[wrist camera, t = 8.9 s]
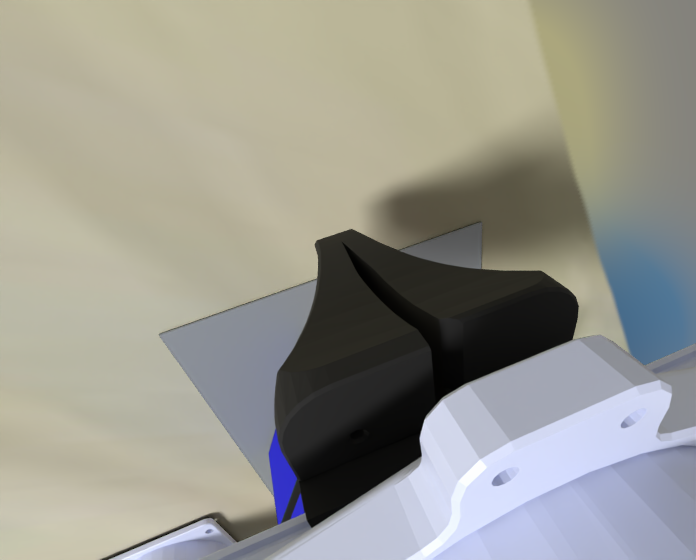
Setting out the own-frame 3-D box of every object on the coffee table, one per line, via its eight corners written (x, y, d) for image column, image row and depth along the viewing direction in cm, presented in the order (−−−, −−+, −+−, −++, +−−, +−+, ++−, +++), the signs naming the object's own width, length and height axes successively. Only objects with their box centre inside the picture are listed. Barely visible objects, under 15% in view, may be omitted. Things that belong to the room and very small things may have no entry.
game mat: (475, 481, 35) (476, 482, 35) (315, 554, 33) (315, 555, 33) (480, 221, 18) (482, 222, 18) (159, 334, 16) (159, 335, 16)
